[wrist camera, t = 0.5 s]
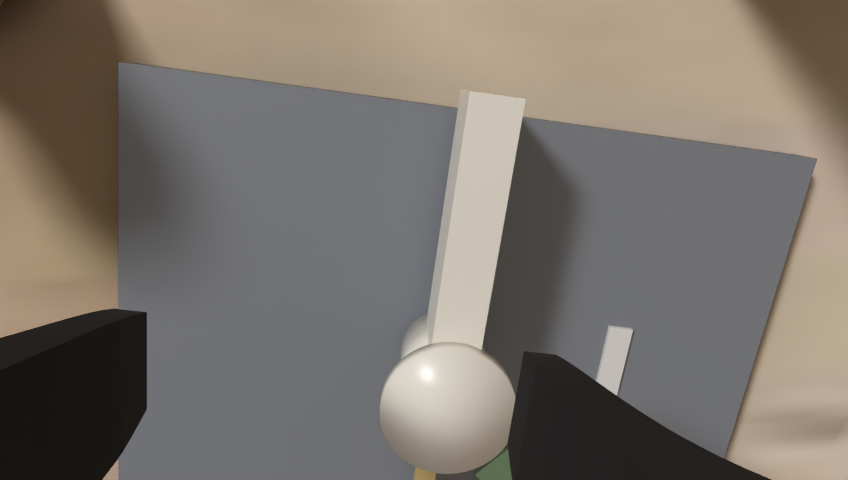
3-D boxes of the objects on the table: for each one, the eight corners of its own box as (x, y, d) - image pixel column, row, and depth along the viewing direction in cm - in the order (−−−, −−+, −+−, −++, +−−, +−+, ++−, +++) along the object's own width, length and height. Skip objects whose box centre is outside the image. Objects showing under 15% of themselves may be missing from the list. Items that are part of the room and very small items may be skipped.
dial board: (667, 584, 24) (680, 609, 23) (130, 531, 23) (116, 554, 22) (797, 155, 20) (820, 159, 19) (133, 63, 19) (115, 62, 17)
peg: (468, 510, 22) (479, 606, 18) (366, 499, 22) (355, 594, 18) (543, 100, 18) (579, 106, 14) (420, 83, 18) (421, 84, 14)
